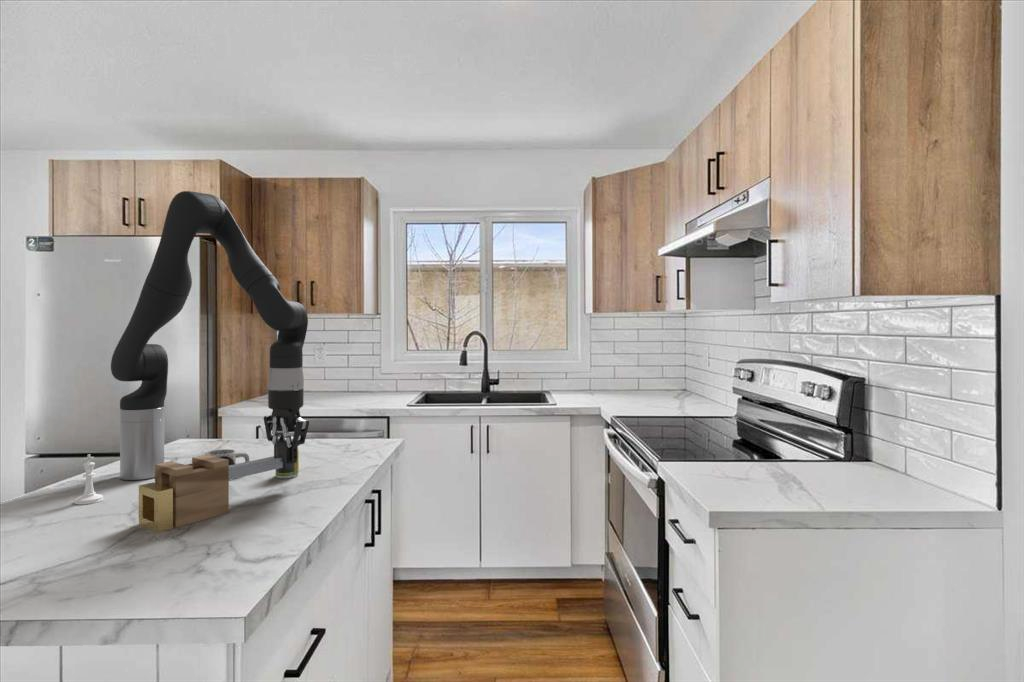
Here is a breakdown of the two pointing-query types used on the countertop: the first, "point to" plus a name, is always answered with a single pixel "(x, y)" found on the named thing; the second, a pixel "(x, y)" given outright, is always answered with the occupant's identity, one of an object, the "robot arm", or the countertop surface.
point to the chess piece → (89, 485)
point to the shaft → (264, 463)
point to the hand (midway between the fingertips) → (285, 461)
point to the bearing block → (196, 488)
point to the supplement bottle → (291, 474)
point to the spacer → (156, 506)
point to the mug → (228, 455)
